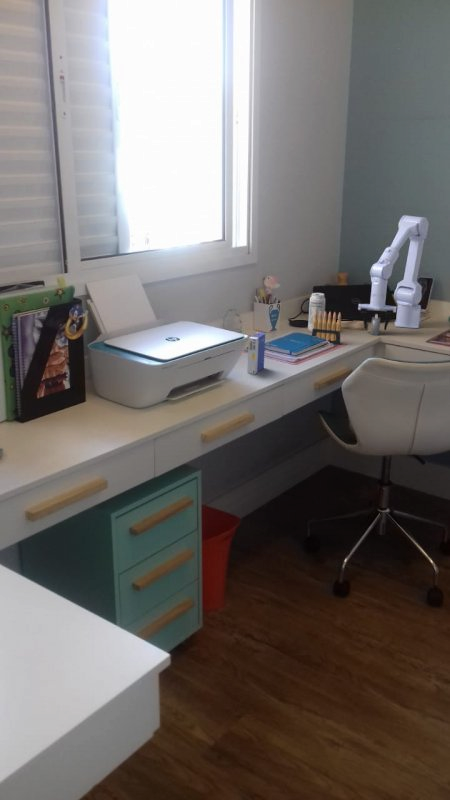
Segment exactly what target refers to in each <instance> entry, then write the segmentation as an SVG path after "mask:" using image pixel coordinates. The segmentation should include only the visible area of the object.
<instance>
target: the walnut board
mask: <svg viewBox="0 0 450 800" xmlns="http://www.w3.org/2000/svg"><path fill="white" fill-rule="evenodd" d="M366 323H367V320H366ZM336 326H337V322H336ZM341 329H343V330H355V331H367V328H366V329H364V321H363V320H353V321H341Z"/></svg>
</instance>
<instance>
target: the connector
mask: <svg viewBox="0 0 450 800" xmlns="http://www.w3.org/2000/svg"><path fill="white" fill-rule="evenodd" d="M374 315H375V316H371V324H370V326H371V327H370V335H371V336H375V337H377V336H379V335H380V327H381V317H378V316H379V314H378V313H375V314H374Z"/></svg>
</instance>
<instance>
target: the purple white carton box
mask: <svg viewBox="0 0 450 800" xmlns="http://www.w3.org/2000/svg"><path fill="white" fill-rule="evenodd" d="M265 346H266V333H264V332H258V331H257V332H256V333H254V334H252V335H251V336H250V337H248V347H247V348H248V349H247V351H248V352H247V371H246V372H247V373H248V374H251V375H255V374H257V373H258V372H260V371H261V370H262V369H264V367H265V348H266V347H265Z"/></svg>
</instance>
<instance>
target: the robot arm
mask: <svg viewBox="0 0 450 800" xmlns="http://www.w3.org/2000/svg"><path fill="white" fill-rule="evenodd" d="M428 230H429V220H428V218H427V217H425V216H423V217H422V216H414V215H406V214H404V215H402V217H401V218H400V219H399V221H398V230H397V232H396V235H395V237H394V239H393V241H392V243H391V245H389V246H387V247H386V248H385V249H384V251H383V253H382V254H381V256H380V257H379V259H378V261H377V262H375V263H374V264H372V266H371V268H370V270H369V275H370V281H371V292H370V299H369V300H370V302H369V303H358V307H357V309H358V311H360V315H361V316H362V321H364V329H366V330H367V322H366V321H367V319H368V318H367V317H368V311H374V312H375V311H376V312H377V311H378V312H379V311H380V312H385V322H384V326H383V327H384V328H383V330H384V331H387V328H388V325H389V323H390V320H391V318H392V316H393V315H394V313H396V319H395V321H394V327H397V328H409V329H419V328H420V324H421V323H420V321H421V319H420V318H421V309H422V305H420V302H421V300H422V298H423V297H422V288H423V287H422V285H421V284H420V283H419V282H418V275H419V270H420V265H421V259H422V254H423V249H424V244H425V243H424V242H425V239H427V236H428ZM408 239H409V240H410V242H409V247H408V252H407V257H406V258H407V259H406V264H405V270H404V274H403V275H404V276H403V279H402V280H400V281H399V282H397V286H396V289H395V290H394V293H393V296H394V297H393V298H394V300H395V301H396V302H395V303H396V304H397V306H395V305H386V300H387V299H386V298H387V290H388V289H387V288H388V279H389V278H390V277H391V276H392V272H393V269H394V264H395V263H396V261H397V259H398V258H399V256H400V253H399V252H400V249H401V248H402V246H403V245H404V244H405V243H406V241H407V240H408Z"/></svg>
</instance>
